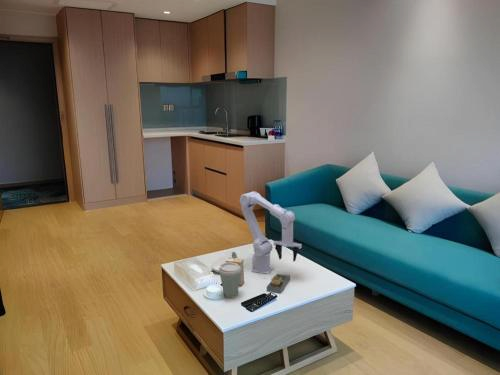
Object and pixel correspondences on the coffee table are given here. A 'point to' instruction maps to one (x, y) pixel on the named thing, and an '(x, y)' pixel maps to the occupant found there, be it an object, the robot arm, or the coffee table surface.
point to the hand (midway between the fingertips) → (287, 259)
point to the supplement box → (241, 264)
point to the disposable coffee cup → (230, 278)
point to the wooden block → (276, 281)
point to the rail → (280, 289)
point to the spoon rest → (223, 260)
